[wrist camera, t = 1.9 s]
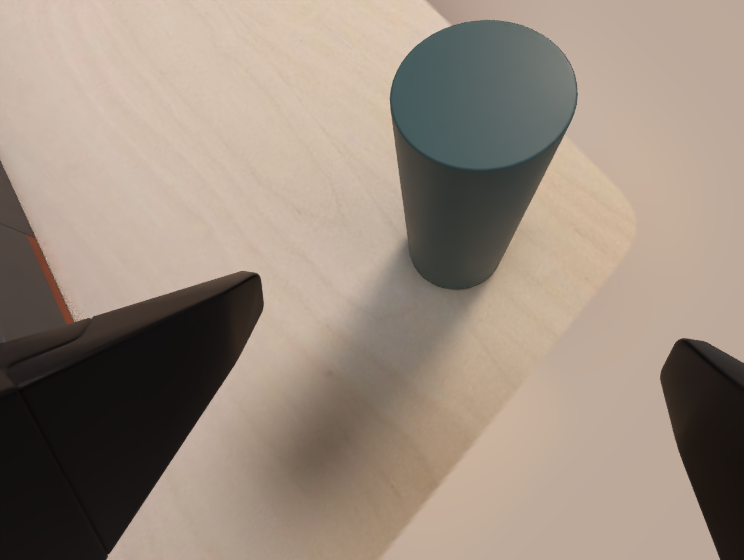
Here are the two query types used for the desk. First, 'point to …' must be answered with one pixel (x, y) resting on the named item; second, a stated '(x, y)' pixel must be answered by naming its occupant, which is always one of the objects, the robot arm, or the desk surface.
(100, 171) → the desk surface
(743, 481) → the robot arm
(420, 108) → the teal green cylinder
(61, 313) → the toy kitchen
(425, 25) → the desk surface
